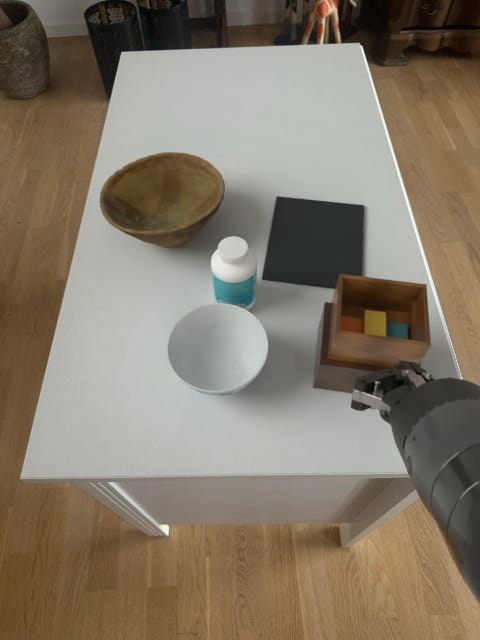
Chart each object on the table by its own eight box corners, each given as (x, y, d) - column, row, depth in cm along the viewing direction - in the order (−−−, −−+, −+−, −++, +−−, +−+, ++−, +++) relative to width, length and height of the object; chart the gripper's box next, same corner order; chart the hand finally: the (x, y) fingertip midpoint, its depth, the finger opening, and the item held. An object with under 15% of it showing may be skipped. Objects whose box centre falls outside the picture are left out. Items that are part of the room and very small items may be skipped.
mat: (363, 207, 91) (364, 205, 90) (361, 292, 79) (361, 290, 79) (276, 198, 93) (276, 196, 92) (261, 279, 81) (261, 277, 81)
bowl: (120, 193, 95) (107, 153, 86) (226, 190, 95) (224, 149, 86) (105, 273, 83) (89, 235, 74) (227, 269, 83) (224, 231, 74)
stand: (402, 340, 74) (417, 313, 67) (404, 401, 68) (421, 378, 61) (318, 328, 75) (324, 301, 68) (312, 387, 69) (319, 364, 63)
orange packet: (369, 323, 65) (371, 319, 64) (368, 341, 64) (370, 336, 63) (338, 319, 66) (339, 315, 65) (337, 336, 64) (338, 332, 63)
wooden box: (411, 312, 67) (426, 284, 61) (413, 371, 62) (431, 346, 56) (331, 302, 68) (339, 273, 62) (327, 358, 63) (335, 333, 57)
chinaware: (210, 431, 66) (206, 413, 59) (156, 362, 72) (147, 338, 66) (286, 374, 71) (289, 351, 64) (228, 314, 77) (226, 287, 71)
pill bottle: (262, 308, 78) (265, 257, 66) (223, 321, 76) (218, 272, 65) (246, 277, 81) (246, 224, 70) (209, 289, 80) (202, 237, 69)
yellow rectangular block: (363, 314, 65) (365, 309, 64) (384, 316, 64) (386, 312, 63) (362, 340, 62) (364, 336, 61) (384, 343, 62) (386, 339, 61)
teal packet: (405, 328, 65) (407, 324, 64) (405, 346, 63) (408, 341, 62) (374, 324, 65) (376, 320, 64) (373, 341, 64) (375, 337, 63)
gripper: (600, 418, 26) (482, 343, 43) (371, 385, 27) (344, 325, 44) (566, 529, 28) (465, 415, 44) (351, 492, 29) (332, 395, 46)
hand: (405, 370), depth 44 cm, fingers closed
